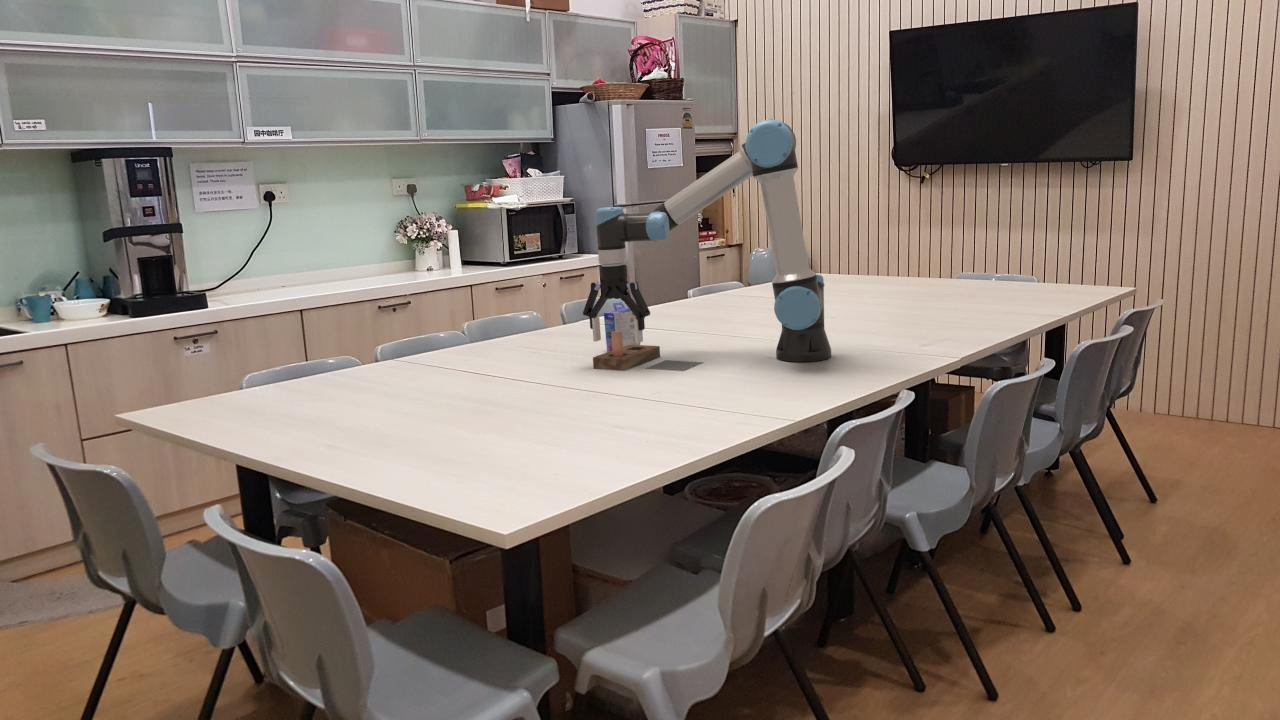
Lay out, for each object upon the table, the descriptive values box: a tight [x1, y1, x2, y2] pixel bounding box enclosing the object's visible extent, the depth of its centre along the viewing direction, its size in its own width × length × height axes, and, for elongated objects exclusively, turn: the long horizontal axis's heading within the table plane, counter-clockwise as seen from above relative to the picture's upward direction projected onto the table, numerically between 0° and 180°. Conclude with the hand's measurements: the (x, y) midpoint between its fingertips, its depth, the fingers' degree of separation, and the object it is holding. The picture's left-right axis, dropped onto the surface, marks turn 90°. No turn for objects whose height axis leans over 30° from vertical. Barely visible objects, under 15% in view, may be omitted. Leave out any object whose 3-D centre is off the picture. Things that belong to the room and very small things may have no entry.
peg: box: [611, 331, 623, 357], centre depth 274 cm, size 3×3×10 cm
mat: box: [644, 359, 704, 372], centre depth 272 cm, size 12×12×1 cm
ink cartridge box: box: [603, 301, 641, 353], centre depth 300 cm, size 10×6×14 cm, turn 132°
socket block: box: [592, 344, 661, 372], centre depth 279 cm, size 10×20×4 cm, turn 150°
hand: (618, 341), depth 274 cm, fingers open, 13 cm apart
